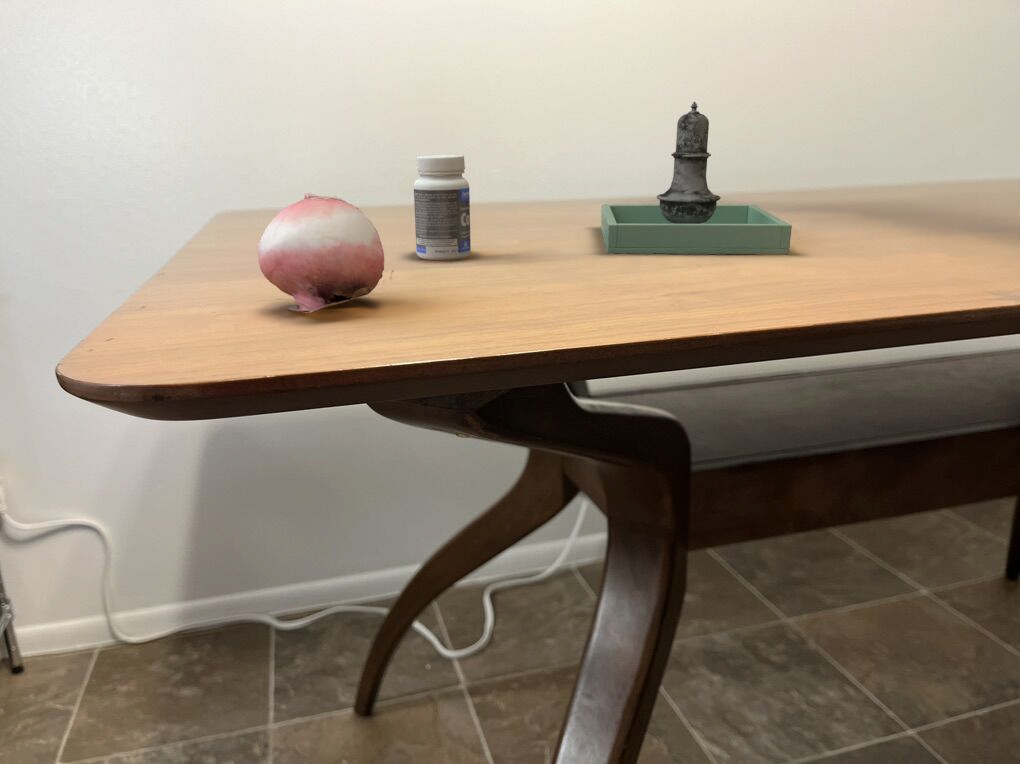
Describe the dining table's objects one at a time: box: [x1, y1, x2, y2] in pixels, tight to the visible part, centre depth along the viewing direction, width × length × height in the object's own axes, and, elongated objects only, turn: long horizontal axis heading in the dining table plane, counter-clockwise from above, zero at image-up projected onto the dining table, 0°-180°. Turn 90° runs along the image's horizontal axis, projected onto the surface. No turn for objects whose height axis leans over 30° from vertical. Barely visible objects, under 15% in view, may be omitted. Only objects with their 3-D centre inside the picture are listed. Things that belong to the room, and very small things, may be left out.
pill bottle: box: [413, 154, 472, 261], centre depth 69 cm, size 5×5×8 cm
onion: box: [257, 192, 385, 314], centre depth 52 cm, size 8×8×7 cm
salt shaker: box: [656, 101, 721, 224], centre depth 76 cm, size 6×6×12 cm
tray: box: [600, 204, 793, 255], centre depth 77 cm, size 16×15×2 cm
